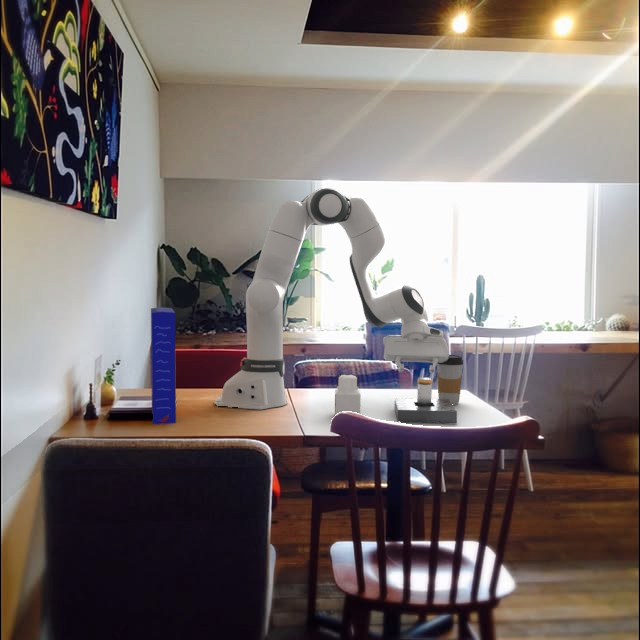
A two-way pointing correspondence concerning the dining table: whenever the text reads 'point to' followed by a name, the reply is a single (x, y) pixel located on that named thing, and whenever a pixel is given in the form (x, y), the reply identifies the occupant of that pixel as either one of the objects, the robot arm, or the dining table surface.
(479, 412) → the dining table surface
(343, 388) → the medicine bottle
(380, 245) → the robot arm
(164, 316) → the cereal box
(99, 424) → the dining table surface
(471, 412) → the dining table surface
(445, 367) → the coffee cup
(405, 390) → the dining table surface
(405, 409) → the collar block
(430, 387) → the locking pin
